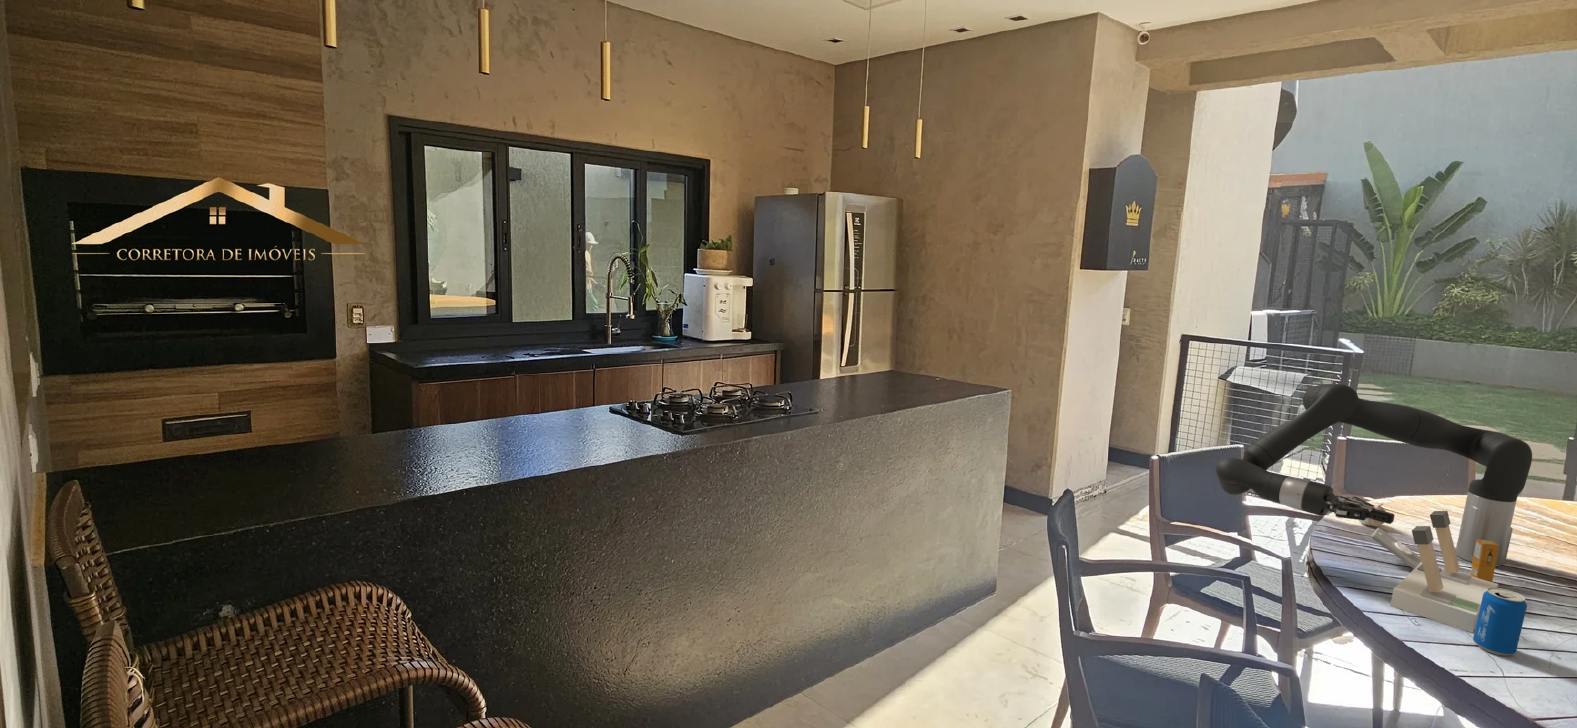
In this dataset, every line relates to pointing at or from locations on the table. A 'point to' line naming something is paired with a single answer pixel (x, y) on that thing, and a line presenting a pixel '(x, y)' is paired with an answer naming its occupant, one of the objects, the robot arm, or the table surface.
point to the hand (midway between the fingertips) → (1393, 519)
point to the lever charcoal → (1445, 540)
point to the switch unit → (1443, 597)
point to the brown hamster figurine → (1372, 522)
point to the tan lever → (1428, 557)
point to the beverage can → (1500, 621)
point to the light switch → (1396, 548)
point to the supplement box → (1484, 560)
